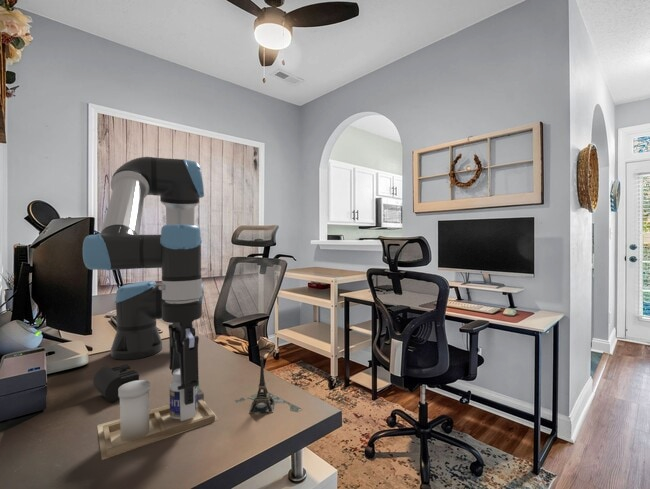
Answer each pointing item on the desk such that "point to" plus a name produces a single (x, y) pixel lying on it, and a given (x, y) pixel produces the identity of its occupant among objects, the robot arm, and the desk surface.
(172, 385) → the pill bottle
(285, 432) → the desk surface
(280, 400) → the eiffel tower figurine
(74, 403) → the desk surface
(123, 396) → the seated billet
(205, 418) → the wooden compartment tray
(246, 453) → the desk surface
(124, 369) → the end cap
